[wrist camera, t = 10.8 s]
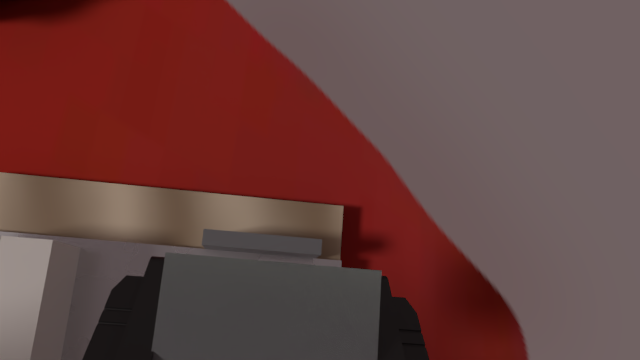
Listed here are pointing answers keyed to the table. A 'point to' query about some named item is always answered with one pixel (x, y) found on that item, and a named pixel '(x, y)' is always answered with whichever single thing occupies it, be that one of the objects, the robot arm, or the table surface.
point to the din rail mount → (127, 248)
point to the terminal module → (265, 310)
